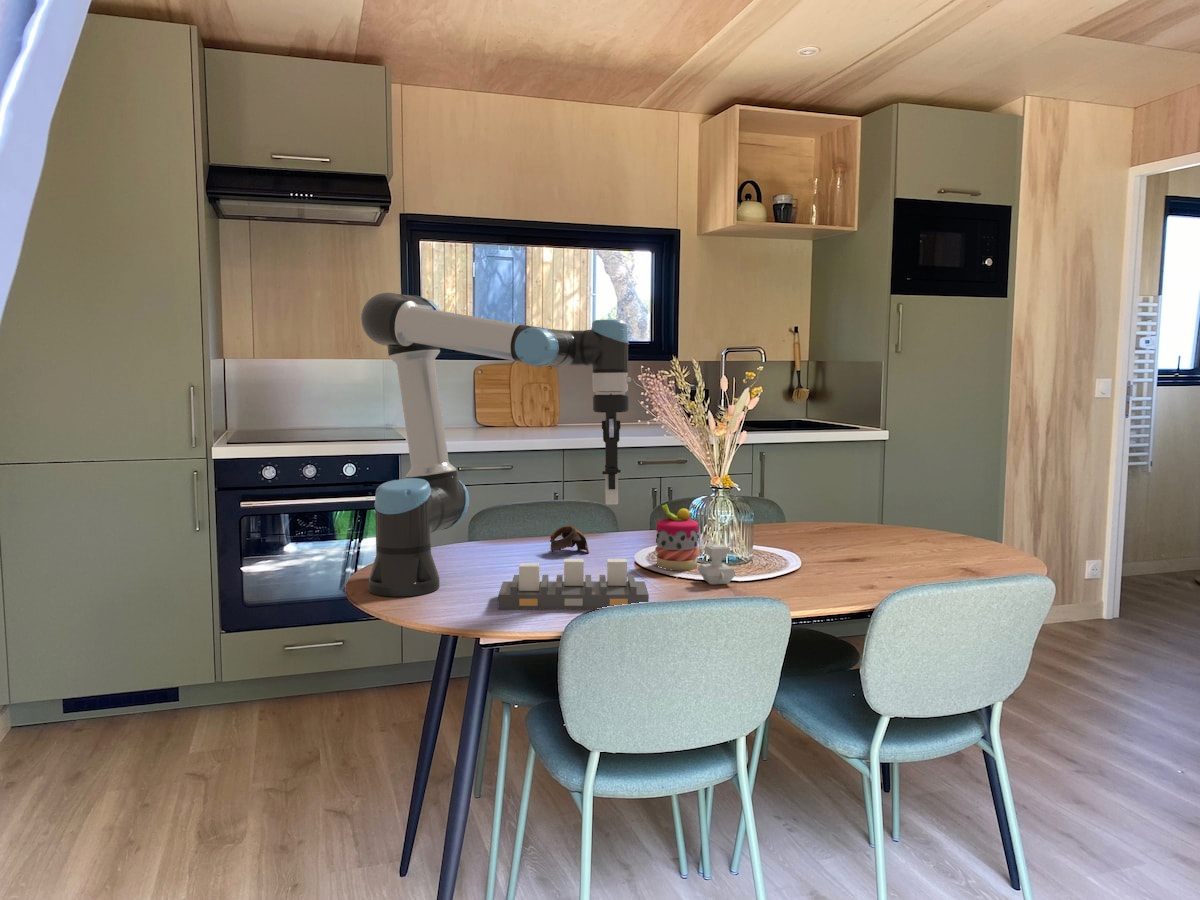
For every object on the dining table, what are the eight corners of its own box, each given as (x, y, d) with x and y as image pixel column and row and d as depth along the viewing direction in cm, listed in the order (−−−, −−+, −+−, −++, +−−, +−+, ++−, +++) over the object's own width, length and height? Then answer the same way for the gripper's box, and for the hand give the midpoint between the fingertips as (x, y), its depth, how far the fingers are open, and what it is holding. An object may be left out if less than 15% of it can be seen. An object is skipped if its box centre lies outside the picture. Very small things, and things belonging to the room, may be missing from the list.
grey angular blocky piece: (695, 579, 204) (696, 542, 204) (723, 577, 206) (723, 541, 205) (708, 588, 196) (709, 550, 195) (737, 587, 197) (738, 549, 196)
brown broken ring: (593, 558, 229) (580, 532, 226) (560, 574, 229) (546, 548, 226) (587, 537, 240) (574, 513, 237) (556, 552, 240) (543, 528, 237)
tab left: (519, 590, 180) (519, 566, 179) (520, 587, 183) (520, 563, 182) (539, 590, 180) (539, 566, 179) (539, 587, 183) (539, 563, 182)
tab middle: (564, 585, 184) (564, 561, 184) (564, 582, 187) (564, 558, 187) (583, 585, 184) (583, 561, 184) (583, 582, 187) (583, 558, 187)
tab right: (607, 585, 184) (607, 561, 184) (607, 582, 187) (607, 558, 187) (626, 585, 184) (627, 561, 184) (626, 582, 187) (626, 558, 187)
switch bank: (498, 609, 177) (498, 587, 177) (503, 595, 189) (502, 574, 188) (648, 609, 178) (648, 587, 178) (644, 595, 189) (644, 574, 189)
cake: (695, 561, 223) (696, 502, 222) (701, 571, 212) (702, 508, 211) (653, 561, 223) (654, 502, 221) (657, 571, 212) (658, 508, 211)
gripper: (629, 393, 182) (630, 508, 184) (627, 392, 195) (628, 499, 197) (592, 394, 182) (594, 508, 184) (593, 393, 195) (594, 499, 197)
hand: (611, 503), depth 190 cm, fingers closed
